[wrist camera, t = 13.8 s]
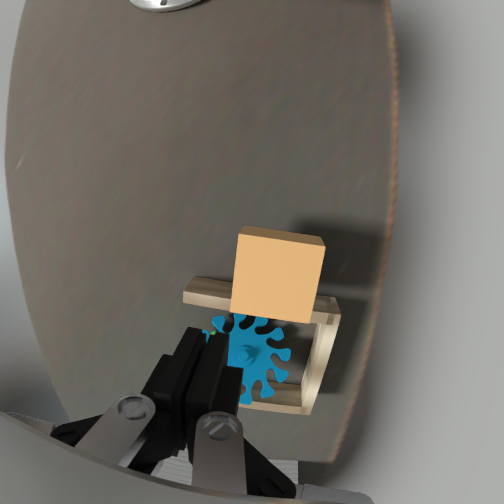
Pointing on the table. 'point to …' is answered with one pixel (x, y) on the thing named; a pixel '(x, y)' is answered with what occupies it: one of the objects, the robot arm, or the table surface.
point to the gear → (253, 354)
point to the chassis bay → (304, 395)
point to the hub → (276, 274)
